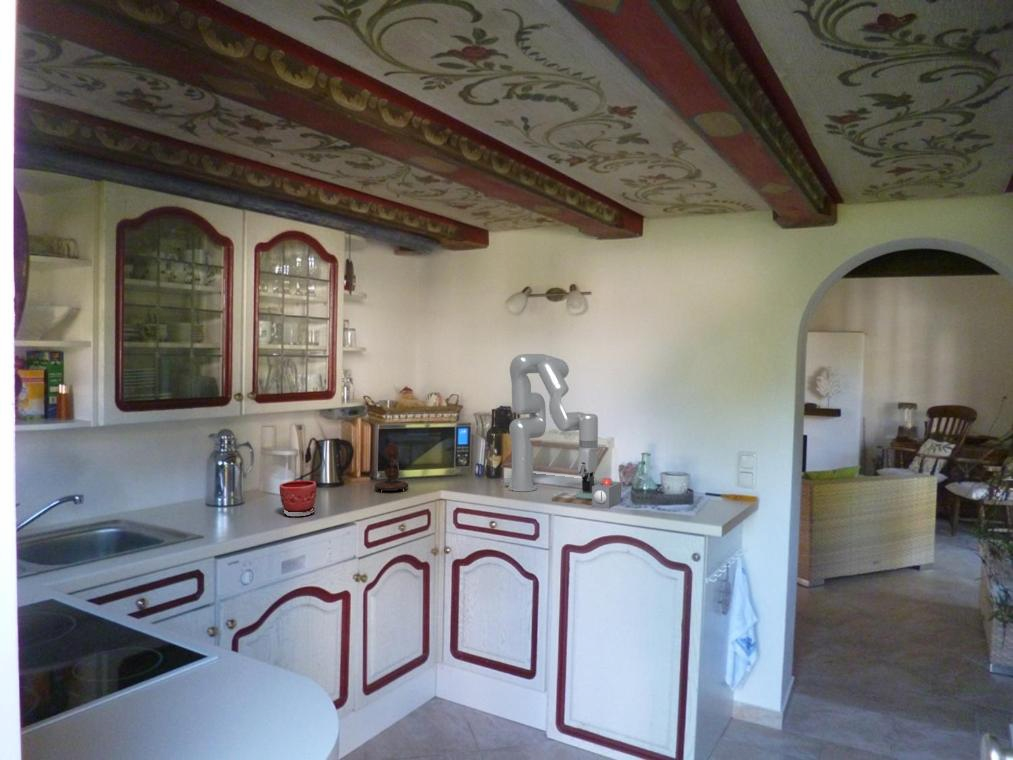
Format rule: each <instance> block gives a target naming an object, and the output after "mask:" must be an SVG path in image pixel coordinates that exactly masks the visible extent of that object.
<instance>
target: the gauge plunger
mask: <svg viewBox="0 0 1013 760" xmlns="http://www.w3.org/2000/svg"><path fill="white" fill-rule="evenodd" d="M601 482H602V485H608V486H611V482H613V480H612V478H608V477H607V478H606V477H605V478H602V479H601Z"/></svg>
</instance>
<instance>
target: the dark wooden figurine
mask: <svg viewBox="0 0 1013 760" xmlns="http://www.w3.org/2000/svg"><path fill="white" fill-rule="evenodd" d="M384 447H385V448H384V455H385V456H386V458H387V459H388V463H389V465H387V466H386V467H385V468H384V474H385V477H386V478H387V480H383V481H382V480H381V481H378V482H377V483H375V484H374V487H375V488H376V489H375V488H374V489H375V490H378V489H381V490H383V491H399V490H398V489H401V490H402V489H404V488H406V489H408V488H409V487H408V486H409V483H408V482H406V481H404V480H398V479H399V477H400V467H399V459H398V455H399V449H398V447H397V446H396V445H395V444H393V443H390V444H387V445H386V446H384ZM395 461H396V466H397V467H396V466H395ZM407 487H408V488H407Z"/></svg>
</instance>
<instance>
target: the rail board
mask: <svg viewBox="0 0 1013 760" xmlns="http://www.w3.org/2000/svg"><path fill="white" fill-rule="evenodd" d="M551 502H559V503H570V504H579V505H588V506H592V499H590V498H580V497H576V493H571V492H562V491H561V492H558V494H553V496H551Z"/></svg>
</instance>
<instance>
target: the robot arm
mask: <svg viewBox="0 0 1013 760" xmlns="http://www.w3.org/2000/svg"><path fill="white" fill-rule="evenodd" d="M569 372H570V369H569V365H568V363H567V362H566V361H565V360H563V359H560V358H558V357H555V356H551V355H549V354H544V353H523V354H522V353H521V354H518V355H517V356H515V357H514V358H513V359H512V361H511V362H510V366H509V376H510V382H511V406H512V407H511V408H512V411H513V413H515V414H516V415H521V416H522V415H528V416H527V417H526V416H525V417H518V418H515V419H513V420H512V421H511V422H510V423H509V428H508V429H509V435H510V444H511V477H510V478H504V484H509V485H507V489H508V490H509V491H512V490H513V492H532V491H536V490H537V486H536V485H535V484H534V447H533V445H532V442H531V440H532V439H538V438H540V437H543V436H544V435H545V433H546V429H547V421H546V420H547V413H546V412H547V410H546V409H547V408H546V401H545V399H544V397H543V395H542V394H541V393H538V392H532V383H531V380H530V378H529V376H528V374H539V377H540V379H541V380H542V383H543V385H544V387H545V389H546V391H547V393H548V396H549V403H548V409H549V414H550V417H551V419H552V421H553V423H554V425H555V426H556V428H557V429H558V430H560V431H561V432H572V431H573V432H574V431H578V449H579V450H578V457H577V473H579V474H580V477H581V483H582V486H581V487H582V488H581V491H590V481H589V477H590V476H593V486H594V485H595V473H596V471H597V469H598V452H597V450H598V449H599V445H598V443H599V442H598V441H599V440H598V439H599V437H598V436H599V433H598V432H599V420H598V419H599V417H598V415H597V414H595V413H586V412H585V413H584V412H580V411H575V412H574V411H572V412H566V411H565V409H564V407H563V404H562V398H563V397H564V396H566V395H567V393H568V392H569V386H568V384H567V381H565V379H566V377H567V376H568V375H569Z"/></svg>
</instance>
